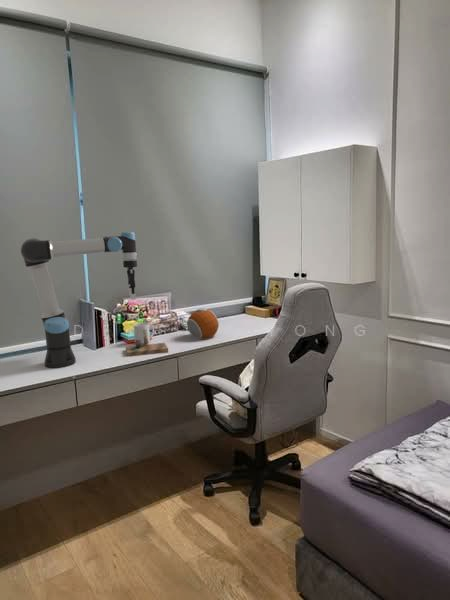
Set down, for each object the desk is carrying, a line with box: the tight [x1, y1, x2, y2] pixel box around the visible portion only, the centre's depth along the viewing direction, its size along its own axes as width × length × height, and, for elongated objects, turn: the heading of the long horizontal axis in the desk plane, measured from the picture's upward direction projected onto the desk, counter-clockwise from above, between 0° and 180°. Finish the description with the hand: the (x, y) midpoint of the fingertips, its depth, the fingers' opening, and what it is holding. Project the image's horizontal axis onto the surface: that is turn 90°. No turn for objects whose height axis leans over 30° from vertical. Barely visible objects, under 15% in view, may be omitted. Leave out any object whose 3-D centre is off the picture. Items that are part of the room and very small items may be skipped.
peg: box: [131, 329, 149, 350], centre depth 263 cm, size 13×3×9 cm, turn 149°
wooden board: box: [125, 342, 169, 357], centre depth 264 cm, size 22×13×2 cm, turn 105°
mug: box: [133, 322, 155, 344], centre depth 282 cm, size 12×9×11 cm
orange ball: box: [186, 307, 220, 340], centre depth 291 cm, size 19×18×17 cm
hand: (132, 297), depth 268 cm, fingers open, 13 cm apart
